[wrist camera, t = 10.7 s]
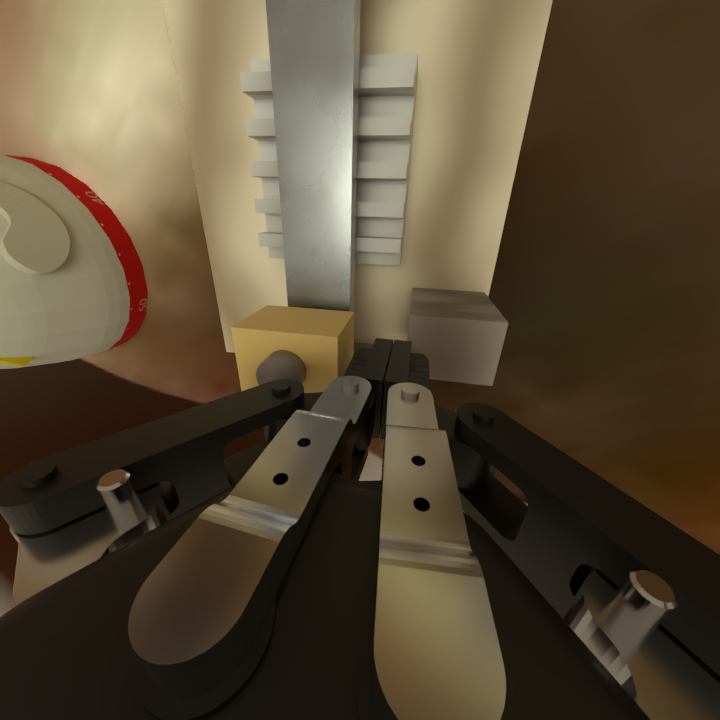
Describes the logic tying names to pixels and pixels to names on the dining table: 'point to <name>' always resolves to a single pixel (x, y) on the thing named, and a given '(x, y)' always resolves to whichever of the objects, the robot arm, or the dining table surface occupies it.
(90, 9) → the dining table surface
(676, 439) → the dining table surface
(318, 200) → the strap
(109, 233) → the kitchen timer
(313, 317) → the block
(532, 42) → the cream board with rail
